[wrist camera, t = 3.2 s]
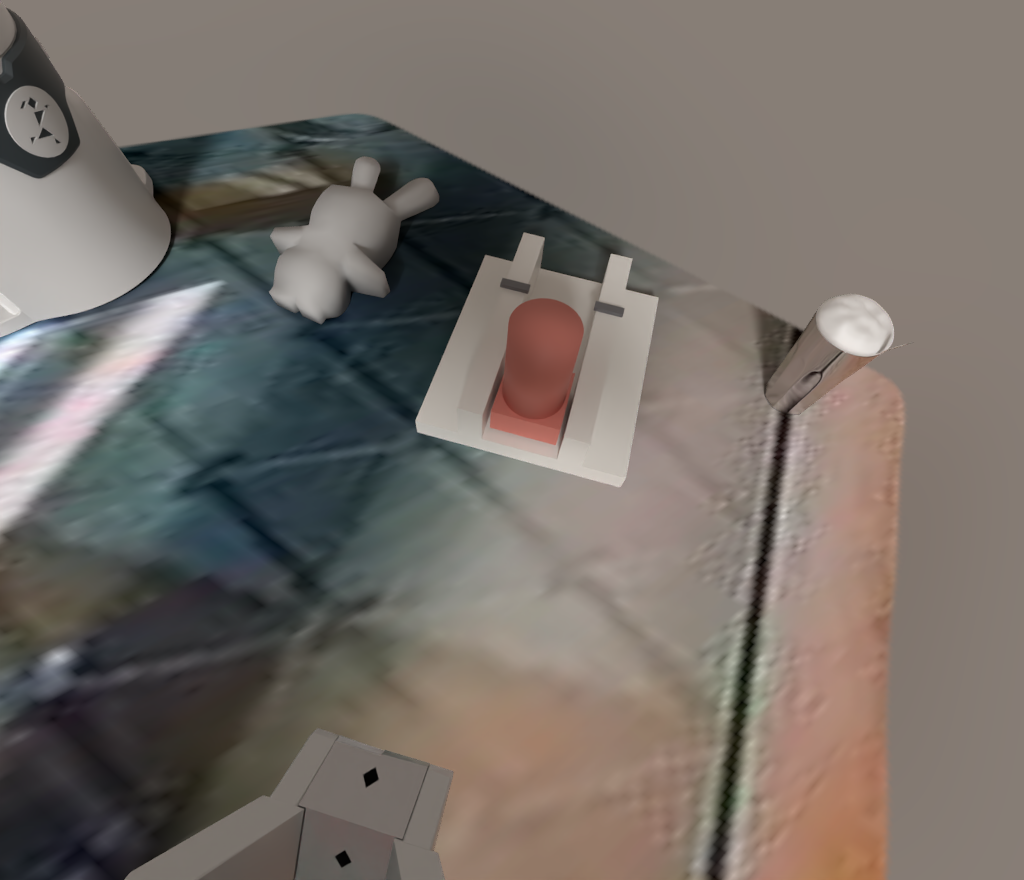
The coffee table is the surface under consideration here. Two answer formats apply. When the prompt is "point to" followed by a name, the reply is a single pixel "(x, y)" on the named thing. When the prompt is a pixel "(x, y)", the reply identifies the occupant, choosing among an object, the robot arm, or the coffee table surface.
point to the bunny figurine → (344, 244)
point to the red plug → (537, 369)
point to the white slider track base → (598, 370)
